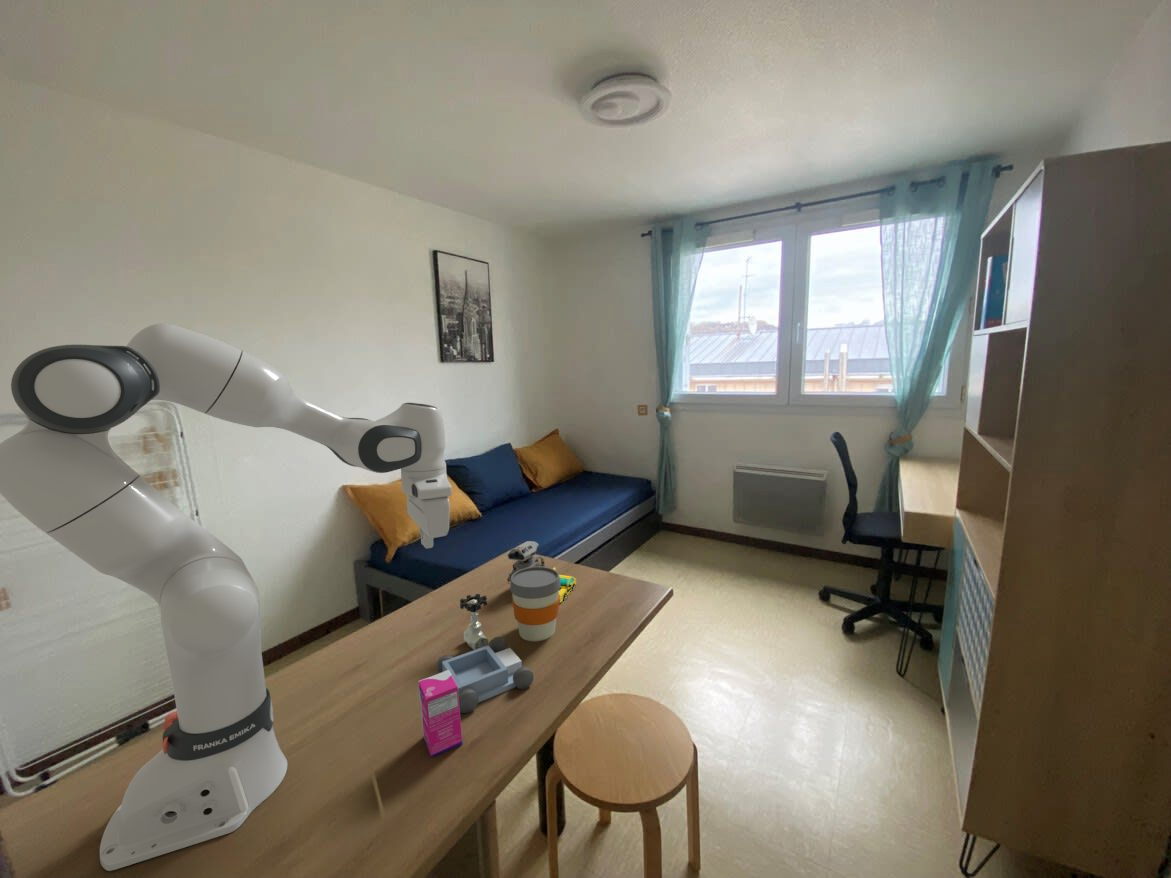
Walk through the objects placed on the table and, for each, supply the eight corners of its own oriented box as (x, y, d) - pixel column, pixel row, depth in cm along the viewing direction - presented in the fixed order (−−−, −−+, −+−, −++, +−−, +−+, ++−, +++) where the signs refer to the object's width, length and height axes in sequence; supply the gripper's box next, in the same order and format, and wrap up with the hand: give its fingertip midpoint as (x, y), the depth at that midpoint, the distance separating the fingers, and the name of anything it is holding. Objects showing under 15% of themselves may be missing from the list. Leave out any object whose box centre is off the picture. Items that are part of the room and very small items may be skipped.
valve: (468, 658, 108) (465, 609, 106) (457, 645, 113) (454, 599, 112) (494, 648, 112) (492, 601, 110) (482, 636, 117) (480, 591, 115)
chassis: (459, 716, 90) (458, 696, 89) (436, 675, 102) (435, 657, 102) (533, 685, 98) (533, 666, 98) (504, 650, 111) (503, 633, 110)
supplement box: (421, 737, 85) (417, 679, 83) (454, 724, 88) (450, 668, 86) (429, 759, 80) (425, 698, 78) (463, 744, 83) (460, 685, 81)
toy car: (556, 586, 144) (555, 560, 143) (579, 589, 142) (578, 563, 140) (539, 603, 133) (537, 576, 132) (563, 608, 131) (562, 580, 129)
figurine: (500, 595, 139) (498, 546, 137) (528, 581, 148) (526, 535, 145) (521, 604, 133) (519, 553, 131) (549, 589, 142) (548, 542, 140)
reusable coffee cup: (529, 615, 127) (527, 563, 124) (570, 625, 121) (569, 570, 119) (502, 639, 115) (499, 582, 113) (545, 651, 110) (543, 591, 108)
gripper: (398, 474, 103) (401, 535, 105) (420, 493, 86) (423, 565, 88) (427, 471, 107) (429, 530, 108) (454, 489, 89) (457, 558, 91)
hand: (427, 546), depth 98 cm, fingers closed
